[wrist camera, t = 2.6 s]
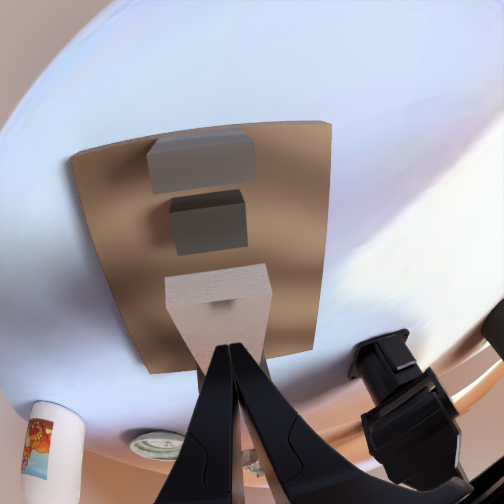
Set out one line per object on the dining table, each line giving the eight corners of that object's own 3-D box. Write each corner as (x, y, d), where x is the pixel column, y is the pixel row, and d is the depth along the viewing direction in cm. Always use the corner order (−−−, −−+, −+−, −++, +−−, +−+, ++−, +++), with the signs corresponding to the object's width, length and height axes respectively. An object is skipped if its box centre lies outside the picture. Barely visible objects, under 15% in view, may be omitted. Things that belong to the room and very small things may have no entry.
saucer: (117, 424, 30) (116, 439, 28) (189, 420, 31) (190, 437, 29) (145, 449, 35) (145, 462, 33) (205, 445, 36) (207, 459, 34)
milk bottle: (79, 406, 26) (71, 559, 10) (91, 431, 30) (89, 558, 13) (25, 393, 24) (5, 534, 8) (43, 420, 28) (32, 541, 11)
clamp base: (307, 337, 25) (328, 386, 21) (150, 360, 23) (148, 414, 19) (320, 120, 16) (370, 138, 11) (79, 151, 14) (35, 182, 9)
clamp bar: (252, 373, 22) (255, 389, 21) (214, 378, 21) (217, 395, 20) (263, 257, 9) (274, 298, 8) (164, 271, 9) (166, 314, 8)
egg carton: (251, 459, 43) (255, 478, 40) (233, 450, 39) (237, 472, 35) (307, 442, 42) (313, 462, 39) (296, 432, 38) (303, 454, 35)
